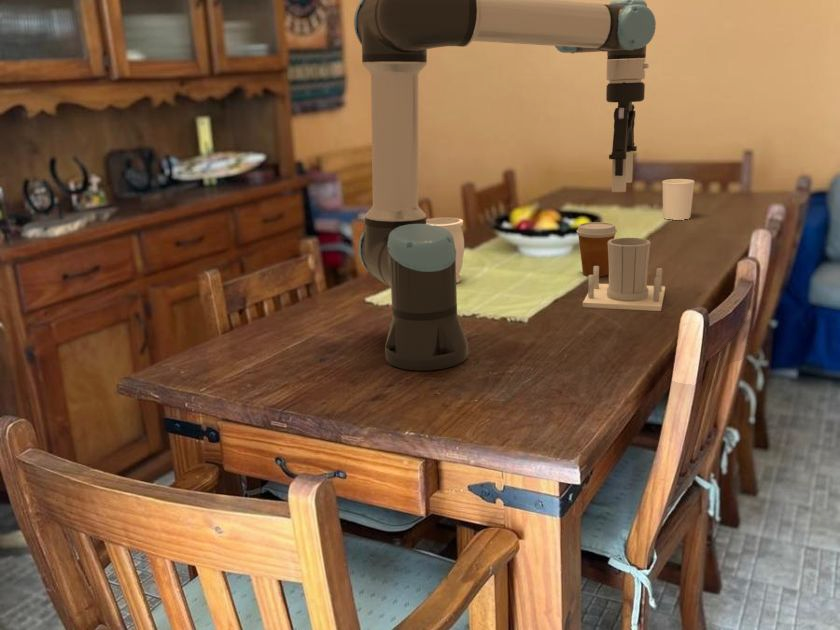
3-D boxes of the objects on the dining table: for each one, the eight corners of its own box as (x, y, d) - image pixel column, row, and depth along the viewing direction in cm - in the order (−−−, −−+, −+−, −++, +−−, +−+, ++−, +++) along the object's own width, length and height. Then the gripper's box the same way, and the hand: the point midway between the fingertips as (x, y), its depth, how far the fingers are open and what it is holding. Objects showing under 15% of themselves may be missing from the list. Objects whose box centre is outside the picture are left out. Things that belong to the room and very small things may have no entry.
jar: (461, 287, 193) (459, 225, 188) (419, 286, 195) (416, 225, 191) (468, 276, 203) (466, 216, 198) (427, 275, 205) (425, 217, 200)
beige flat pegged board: (660, 311, 168) (662, 283, 166) (582, 307, 173) (583, 279, 171) (665, 290, 182) (666, 264, 180) (592, 287, 187) (593, 262, 185)
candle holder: (654, 218, 264) (655, 181, 260) (677, 214, 268) (679, 178, 264) (675, 222, 255) (677, 184, 252) (699, 218, 259) (701, 181, 256)
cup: (591, 295, 178) (592, 241, 174) (616, 286, 183) (618, 234, 180) (632, 303, 170) (634, 247, 166) (657, 294, 176) (659, 240, 172)
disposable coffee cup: (571, 276, 197) (571, 228, 194) (582, 267, 205) (583, 221, 202) (609, 279, 193) (610, 230, 190) (620, 270, 201) (621, 222, 198)
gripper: (639, 82, 151) (635, 196, 158) (649, 79, 174) (645, 178, 180) (598, 84, 154) (596, 195, 160) (613, 80, 176) (611, 178, 183)
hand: (622, 187), depth 170 cm, fingers open, 13 cm apart
